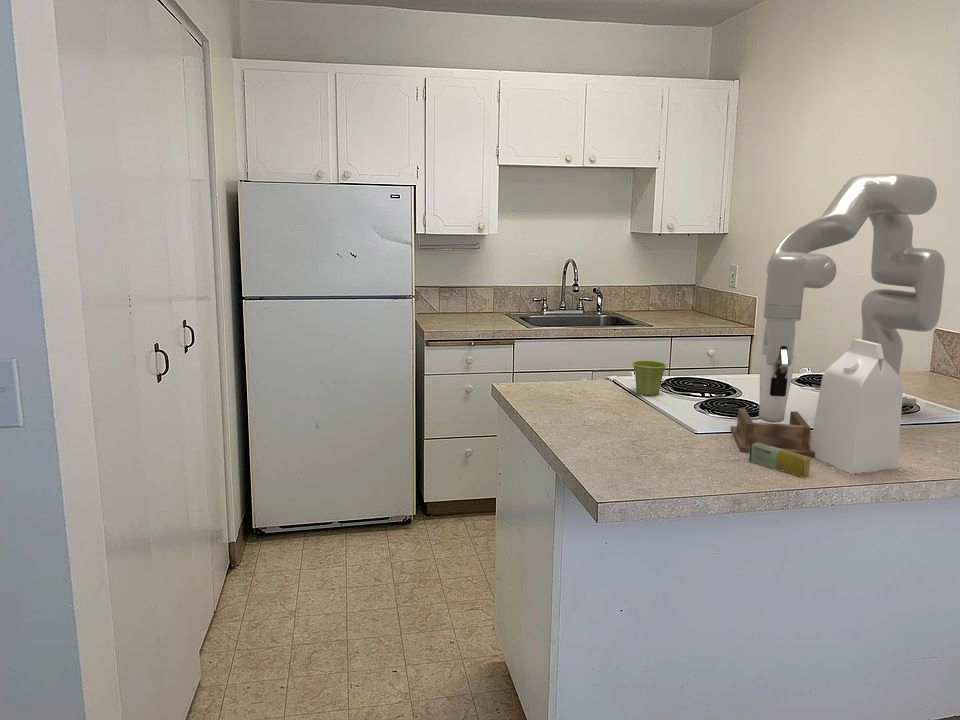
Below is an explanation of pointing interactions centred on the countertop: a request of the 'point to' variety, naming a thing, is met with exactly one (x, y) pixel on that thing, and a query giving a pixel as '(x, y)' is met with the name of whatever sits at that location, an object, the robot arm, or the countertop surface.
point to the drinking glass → (770, 405)
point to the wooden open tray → (773, 434)
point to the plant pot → (648, 376)
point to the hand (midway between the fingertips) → (774, 391)
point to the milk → (859, 411)
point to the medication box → (779, 458)
